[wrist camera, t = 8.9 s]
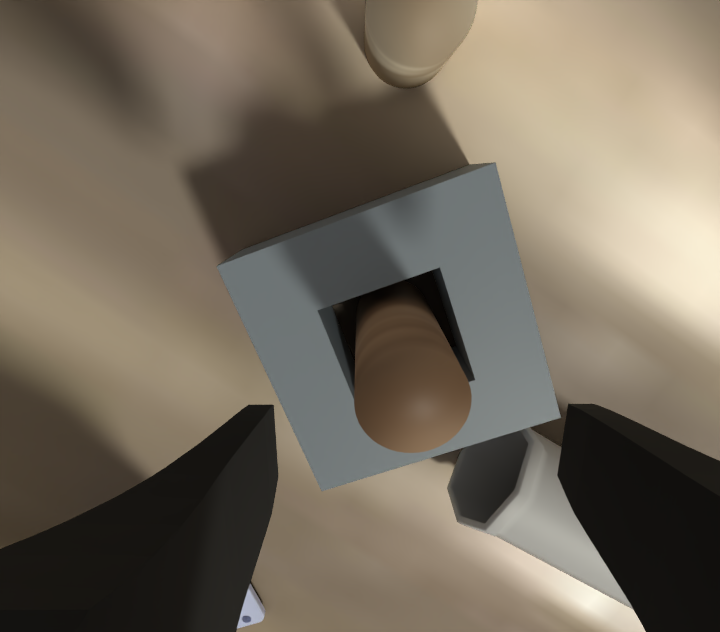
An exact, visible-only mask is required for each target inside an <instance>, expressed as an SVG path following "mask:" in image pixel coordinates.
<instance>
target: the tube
mask: <svg viewBox="0 0 720 632" xmlns="http://www.w3.org/2000/svg"><path fill="white" fill-rule="evenodd" d="M561 448H562V447H560V446H558V445H557V444H555V443H553V442H552V441H550V440H548V439H547V438H545V437H543V436H542V435H540V434H538V433H537V432H535V431H533V430H532V429H531V428H530V427H529V428H526V429H522V430H519V431H516V432H513V433H509V434H506V435H503V436H500V437H496V438H493V439H490V440H487V441H483V442H480V443H477V444H474V445H470V446H467V447H464V448H463V449H462V451H461V452H460V454H459V457H458V459H457V462H456V465H455V468H454V470H453V473H452V476H451V479H450V481H449V484H448V487H447V489H448V492H449V496H450V499H451V503H452V506H453V509H454V513H455V516H456V520H457V522H458V523H460V524H462V525H464V526H467V527H470V528H472V529H475V530H478V531H481V532H484V533H487V534H490V535H493V536H497V537H498V538H500V539H502V540H504V541H506V542H508V543H510V544H512V545H513V546H515V547H517V548H519V549H521V550H523V551H525V552H527V553H528V554H530V555H532V556H534V557H536V558H538V559H540V560H542V561H543V562H545V563H547V564H549V565H551V566H553V567H555V568H557V569H558V570H560V571H562V572H564V573H566V574H568V575H570V576H572V577H573V578H575V579H577V580H579V581H581V582H583V583H585V584H587V585H588V586H590V587H592V588H594V589H596V590H598V591H600V592H602V593H603V594H605V595H607V596H609V597H611V598H613V599H615V600H617V601H618V602H620V603H622V604H624V605H626V606H628V607H630V608H632V606H631V604H630V603H629V601H628V599H627V598H626V596H625V595H624V593H623V591H622V590H621V588H620V587H619V585H618V583H617V582H616V580H615V579H614V577H613V575H612V574H611V572H610V571H609V569H608V567H607V566H606V564H605V563H604V561H603V559H602V558H601V556H600V555H599V553H598V551H597V550H596V548H595V547H594V545H593V543H592V542H591V540H590V539H589V537H588V535H587V534H586V532H585V530H584V529H583V527H582V526H581V524H580V522H579V521H578V519H577V517H576V516H575V514H574V512H573V510H572V508H571V506H570V503H569V501H568V499H567V497H566V495H565V492H564V490H563V488H562V485H561V483H560V481H559V478H558V476H557V473H558V467H559V460H560V454H561ZM632 609H633V608H632ZM633 610H634V609H633Z"/></svg>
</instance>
